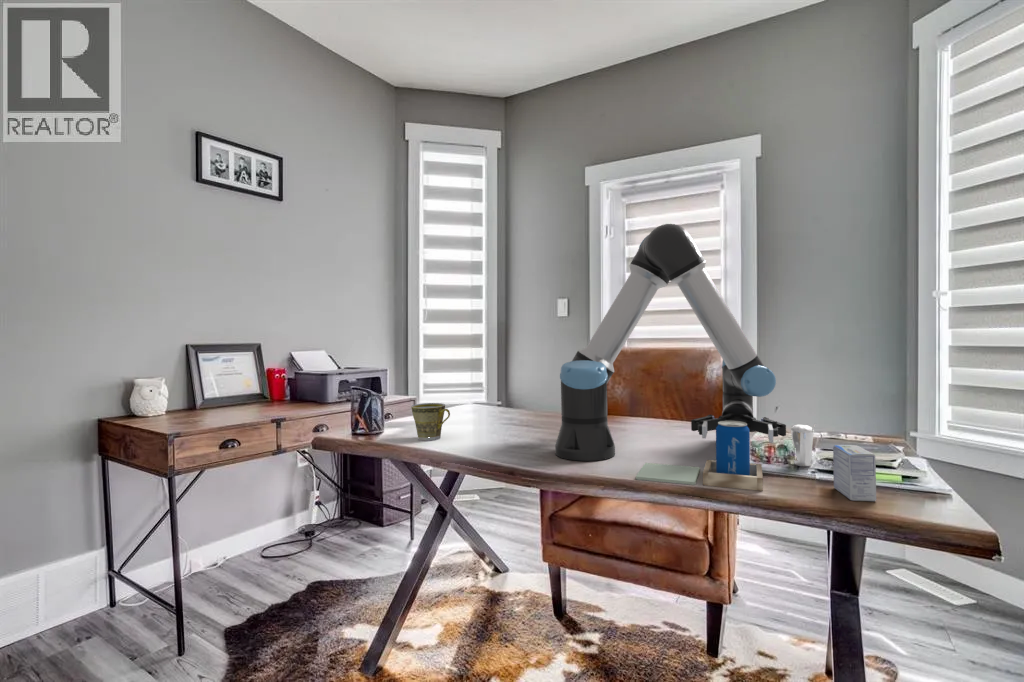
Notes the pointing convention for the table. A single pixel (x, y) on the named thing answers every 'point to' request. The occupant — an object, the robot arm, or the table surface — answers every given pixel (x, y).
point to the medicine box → (854, 472)
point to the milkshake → (803, 443)
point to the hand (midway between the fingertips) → (736, 434)
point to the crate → (733, 477)
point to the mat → (669, 473)
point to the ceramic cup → (429, 420)
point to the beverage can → (733, 448)
